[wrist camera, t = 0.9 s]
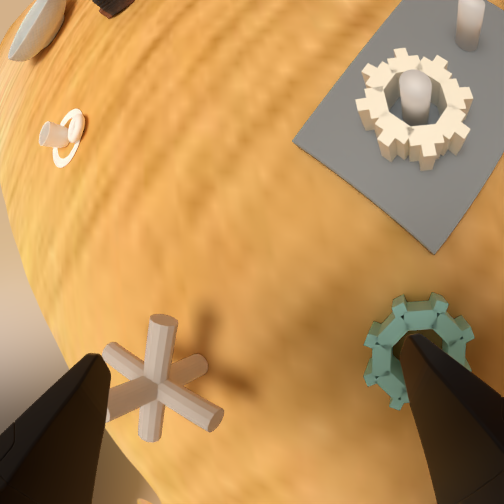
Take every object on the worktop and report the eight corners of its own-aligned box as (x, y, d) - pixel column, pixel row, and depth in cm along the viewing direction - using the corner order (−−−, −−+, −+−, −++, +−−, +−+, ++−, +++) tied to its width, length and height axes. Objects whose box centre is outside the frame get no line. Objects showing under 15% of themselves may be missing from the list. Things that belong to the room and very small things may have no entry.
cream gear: (482, 113, 13) (492, 92, 11) (430, 193, 15) (435, 182, 13) (397, 57, 16) (392, 31, 13) (343, 129, 18) (331, 109, 15)
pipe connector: (148, 384, 27) (61, 419, 18) (162, 286, 26) (57, 299, 17) (238, 438, 23) (158, 505, 14) (269, 332, 21) (173, 384, 12)
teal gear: (482, 337, 15) (494, 352, 12) (413, 405, 17) (412, 428, 14) (416, 271, 17) (419, 275, 14) (349, 345, 19) (340, 361, 16)
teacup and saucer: (96, 113, 31) (69, 104, 28) (75, 176, 33) (47, 172, 29) (69, 107, 35) (45, 100, 31) (50, 160, 37) (26, 156, 33)
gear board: (547, 53, 11) (568, 11, 6) (432, 254, 16) (444, 256, 11) (427, -20, 14) (421, -69, 9) (297, 146, 20) (260, 115, 15)
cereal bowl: (81, -15, 39) (57, -27, 33) (75, 24, 37) (44, 11, 31) (38, 36, 47) (15, 28, 40) (28, 82, 44) (1, 75, 38)
